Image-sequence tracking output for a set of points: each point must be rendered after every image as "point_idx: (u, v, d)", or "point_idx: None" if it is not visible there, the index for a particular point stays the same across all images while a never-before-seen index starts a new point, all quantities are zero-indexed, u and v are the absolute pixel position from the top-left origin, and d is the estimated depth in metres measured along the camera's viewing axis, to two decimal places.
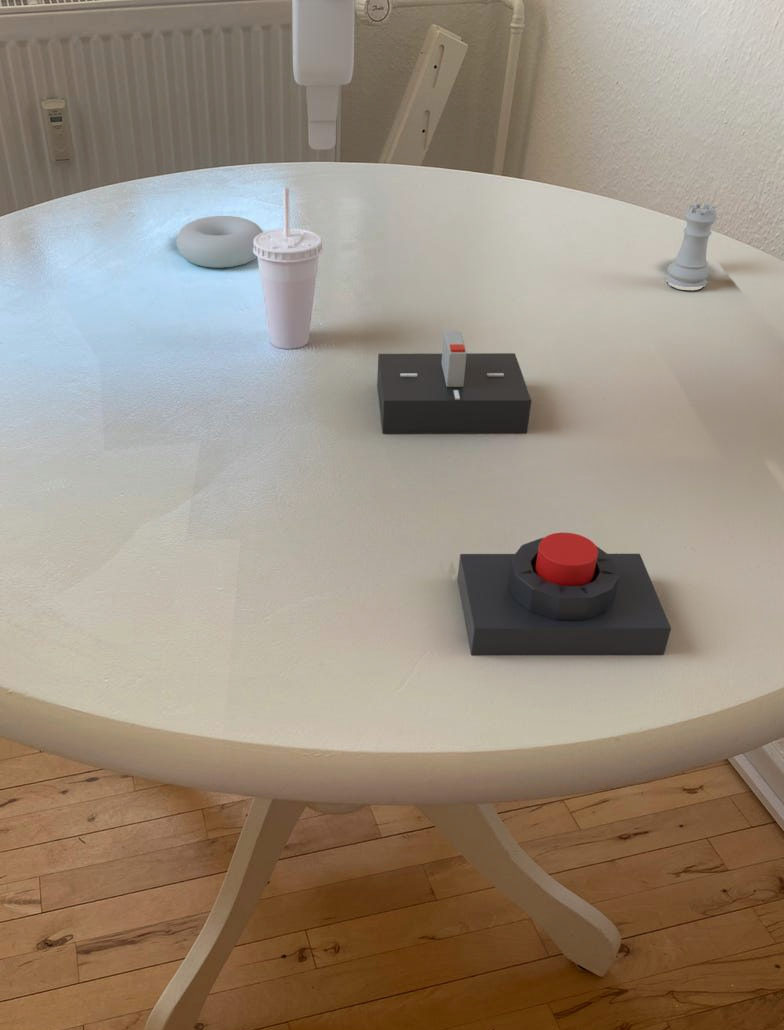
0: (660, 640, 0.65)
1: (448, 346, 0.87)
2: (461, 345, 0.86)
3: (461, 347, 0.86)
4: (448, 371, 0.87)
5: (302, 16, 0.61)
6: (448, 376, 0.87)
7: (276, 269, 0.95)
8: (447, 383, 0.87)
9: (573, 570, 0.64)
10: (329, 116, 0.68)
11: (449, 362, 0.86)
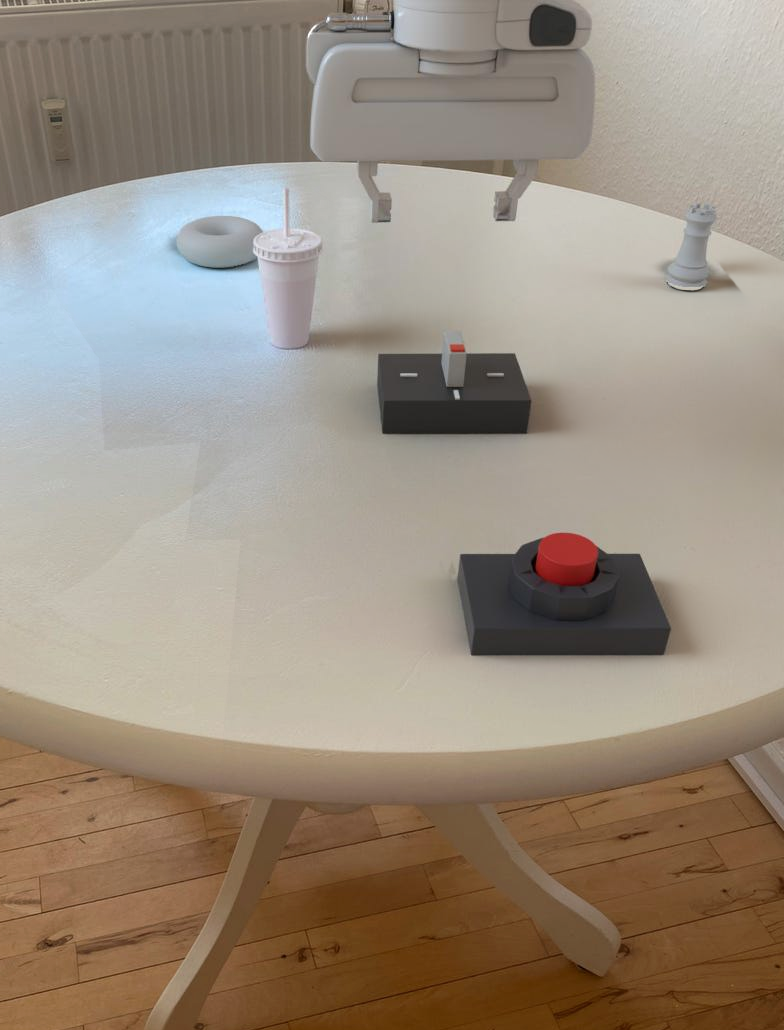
0: (660, 640, 0.65)
1: (448, 346, 0.87)
2: (461, 345, 0.86)
3: (461, 347, 0.86)
4: (448, 371, 0.87)
5: None
6: (448, 376, 0.87)
7: (277, 269, 0.95)
8: (447, 383, 0.87)
9: (573, 570, 0.64)
10: None
11: (449, 362, 0.86)
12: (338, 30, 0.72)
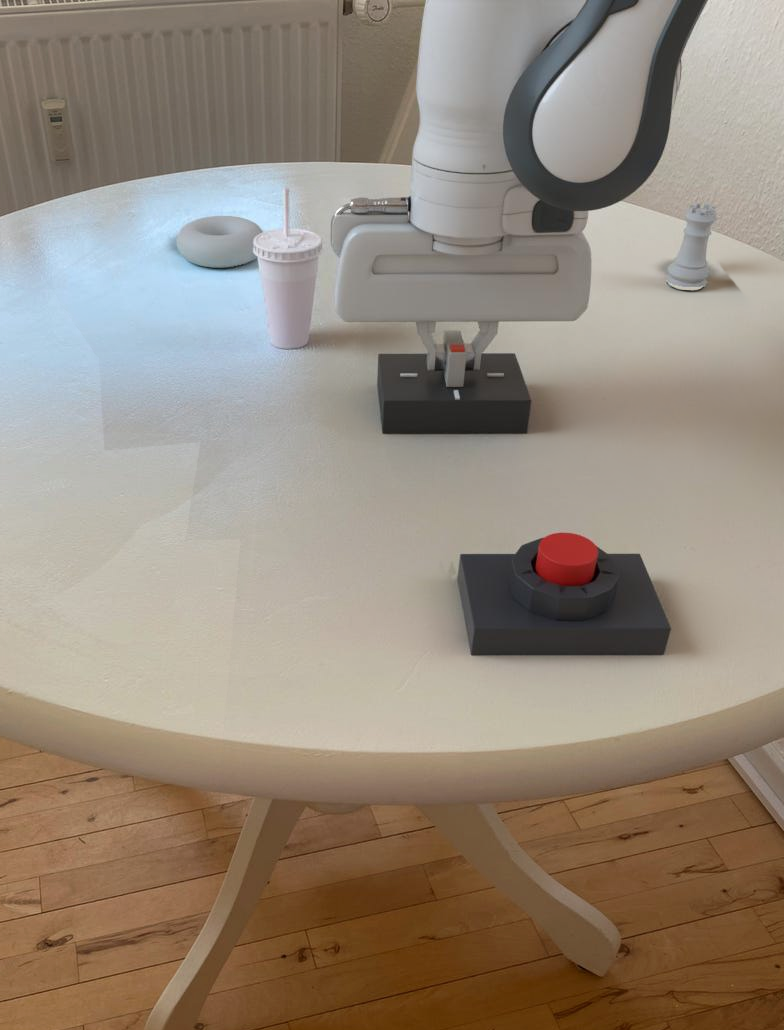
0: (660, 640, 0.65)
1: (448, 346, 0.87)
2: (461, 345, 0.86)
3: (461, 347, 0.86)
4: (448, 371, 0.87)
5: (337, 263, 0.85)
6: (448, 376, 0.87)
7: (277, 269, 0.95)
8: (447, 383, 0.87)
9: (573, 570, 0.64)
10: None
11: (449, 362, 0.86)
12: (360, 213, 0.80)
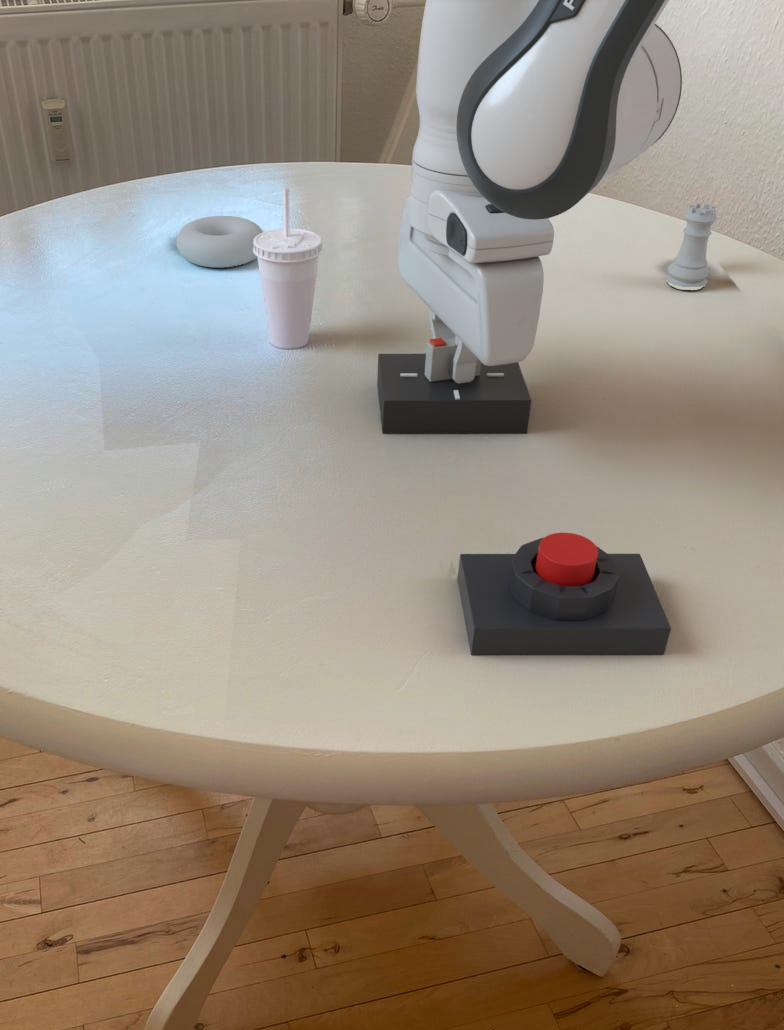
0: (660, 640, 0.65)
1: (442, 340, 0.88)
2: (442, 342, 0.87)
3: (438, 343, 0.87)
4: (426, 359, 0.88)
5: None
6: (425, 364, 0.89)
7: (277, 269, 0.95)
8: (425, 371, 0.89)
9: (573, 570, 0.64)
10: None
11: (426, 351, 0.88)
12: None
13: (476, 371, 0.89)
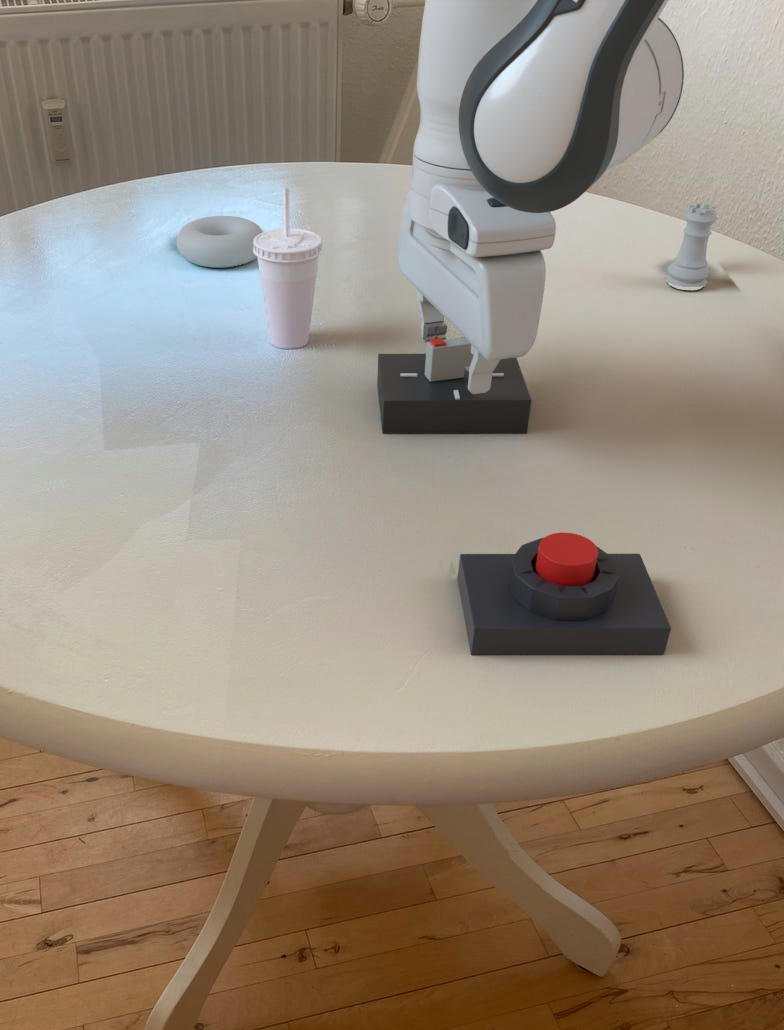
0: (660, 640, 0.65)
1: (442, 340, 0.88)
2: (442, 342, 0.87)
3: (438, 343, 0.87)
4: (426, 359, 0.88)
5: None
6: (425, 364, 0.89)
7: (277, 269, 0.95)
8: (425, 371, 0.89)
9: (573, 570, 0.64)
10: None
11: (426, 351, 0.88)
12: None
13: None
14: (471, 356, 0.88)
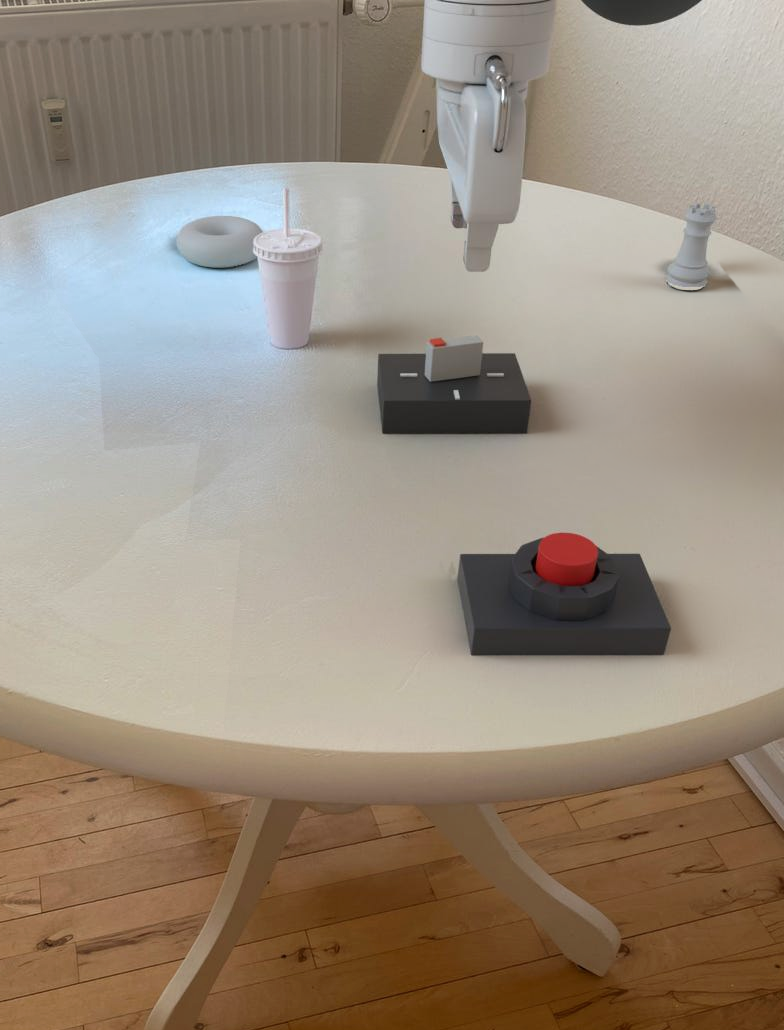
0: (660, 640, 0.65)
1: (442, 340, 0.88)
2: (442, 342, 0.87)
3: (438, 343, 0.87)
4: (426, 359, 0.88)
5: (478, 168, 0.69)
6: (425, 364, 0.89)
7: (277, 269, 0.95)
8: (425, 371, 0.89)
9: (573, 570, 0.64)
10: (486, 244, 0.76)
11: (426, 351, 0.88)
12: None
13: (476, 371, 0.89)
14: (471, 356, 0.88)
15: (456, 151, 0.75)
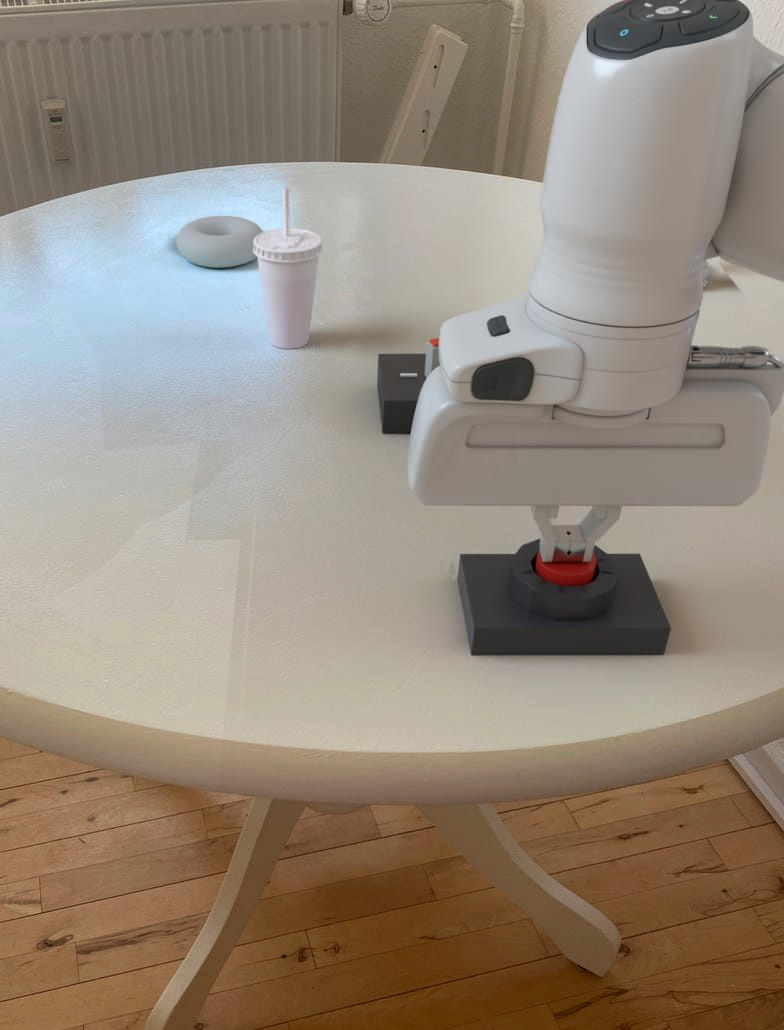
0: (660, 640, 0.65)
1: None
2: None
3: (438, 343, 0.87)
4: (426, 359, 0.88)
5: None
6: (425, 364, 0.89)
7: (277, 269, 0.95)
8: (425, 371, 0.89)
9: (571, 579, 0.65)
10: None
11: (426, 351, 0.88)
12: None
13: None
14: None
15: (634, 466, 0.60)
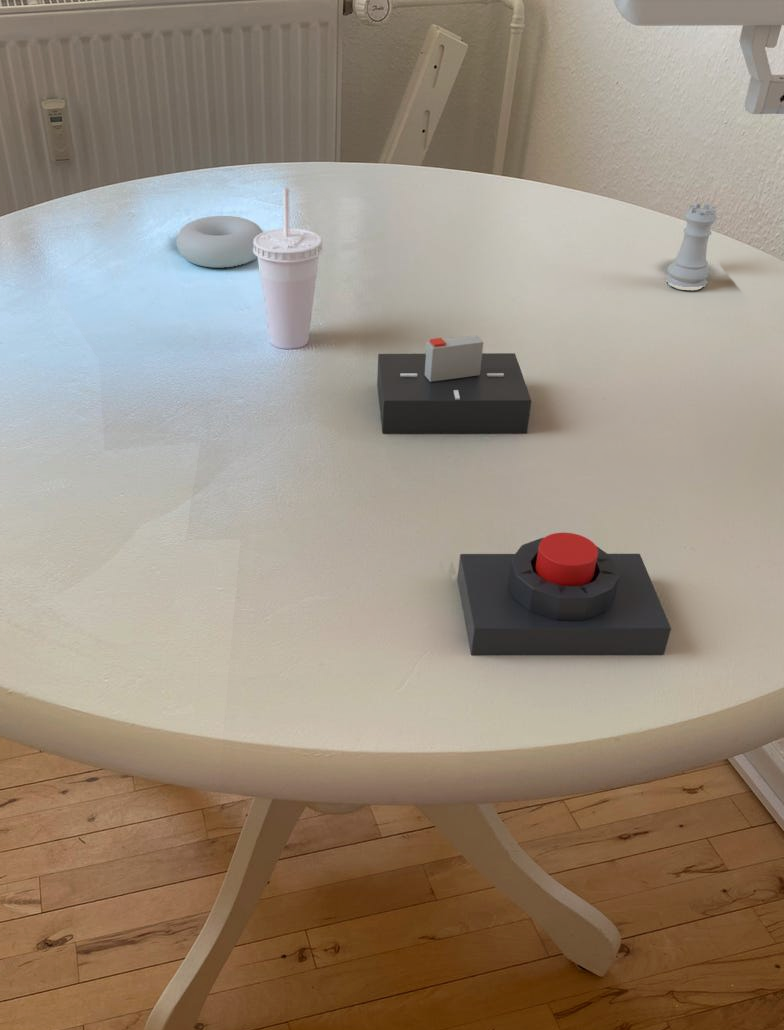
0: (660, 640, 0.65)
1: (442, 340, 0.88)
2: (442, 342, 0.87)
3: (438, 343, 0.87)
4: (426, 359, 0.88)
5: None
6: (425, 364, 0.89)
7: (277, 269, 0.95)
8: (425, 371, 0.89)
9: (573, 570, 0.64)
10: None
11: (426, 351, 0.88)
12: None
13: (476, 371, 0.89)
14: (471, 356, 0.88)
15: None
